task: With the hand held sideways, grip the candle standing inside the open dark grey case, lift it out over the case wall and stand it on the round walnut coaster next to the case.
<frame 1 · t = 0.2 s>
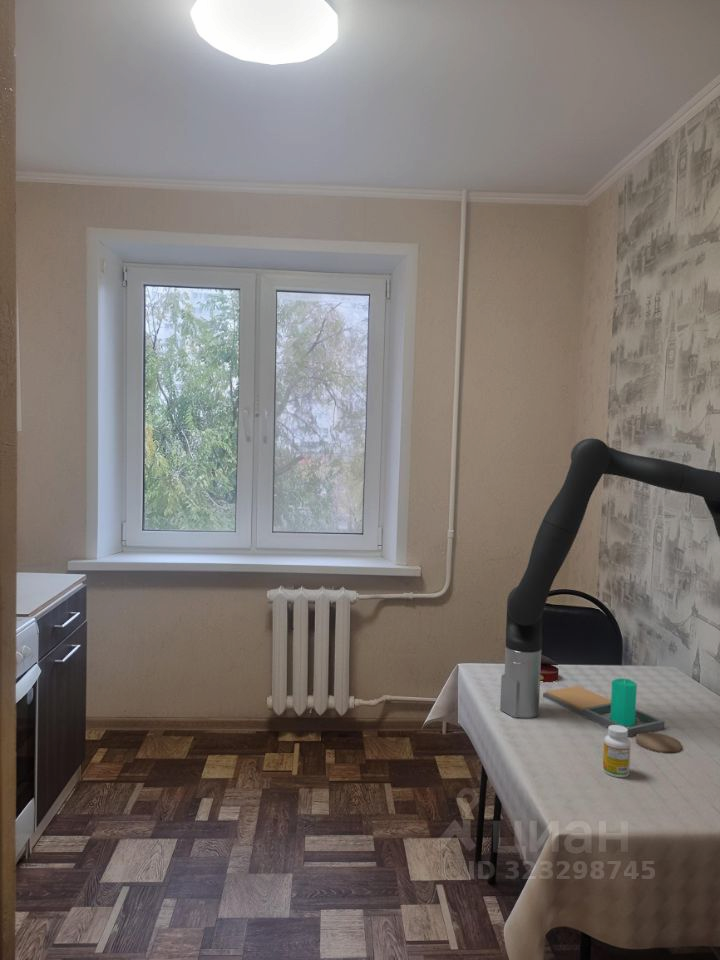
candle: (622, 722, 182), resting in case
coaster: (658, 744, 169), on the table
supplement bottle: (615, 773, 153), on the table
case: (622, 721, 182), on the table
canned food: (541, 678, 216), on the table
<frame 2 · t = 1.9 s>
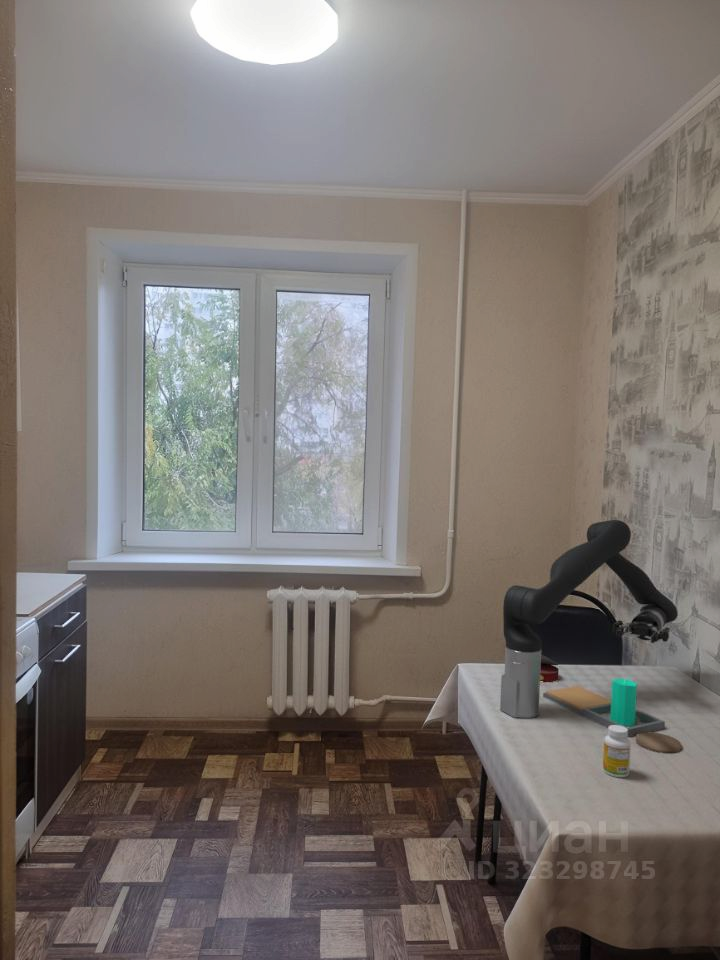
hand: (635, 636, 190), 20 cm above the table, tool horizontal, fingers open, 8 cm apart
nothing on the table moved.
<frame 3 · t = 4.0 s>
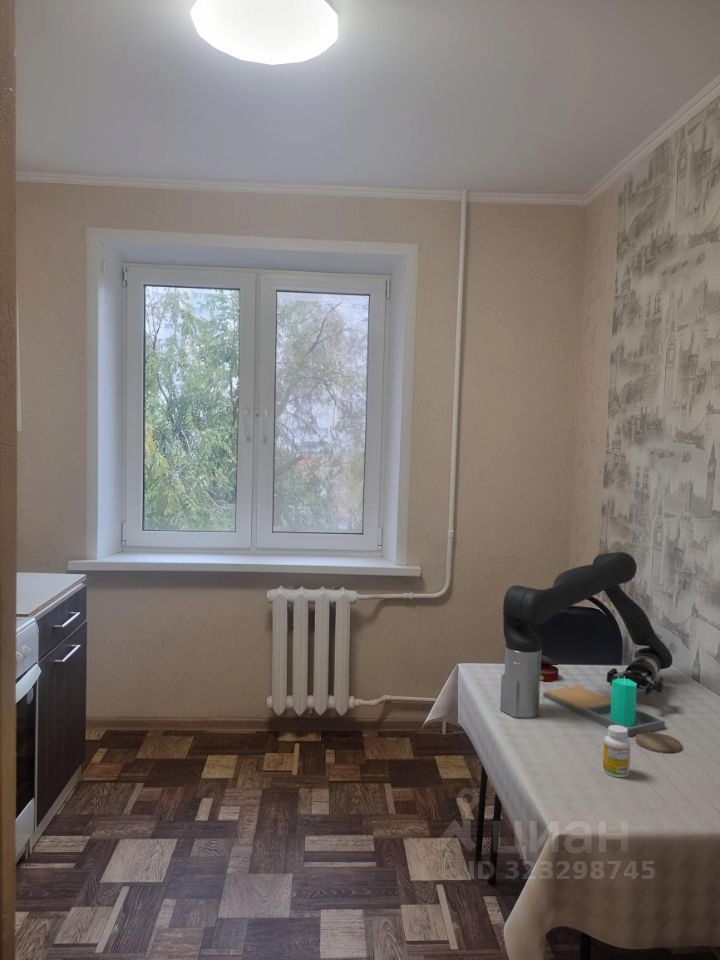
hand: (629, 687, 188), 7 cm above the table, tool horizontal, fingers open, 8 cm apart
nothing on the table moved.
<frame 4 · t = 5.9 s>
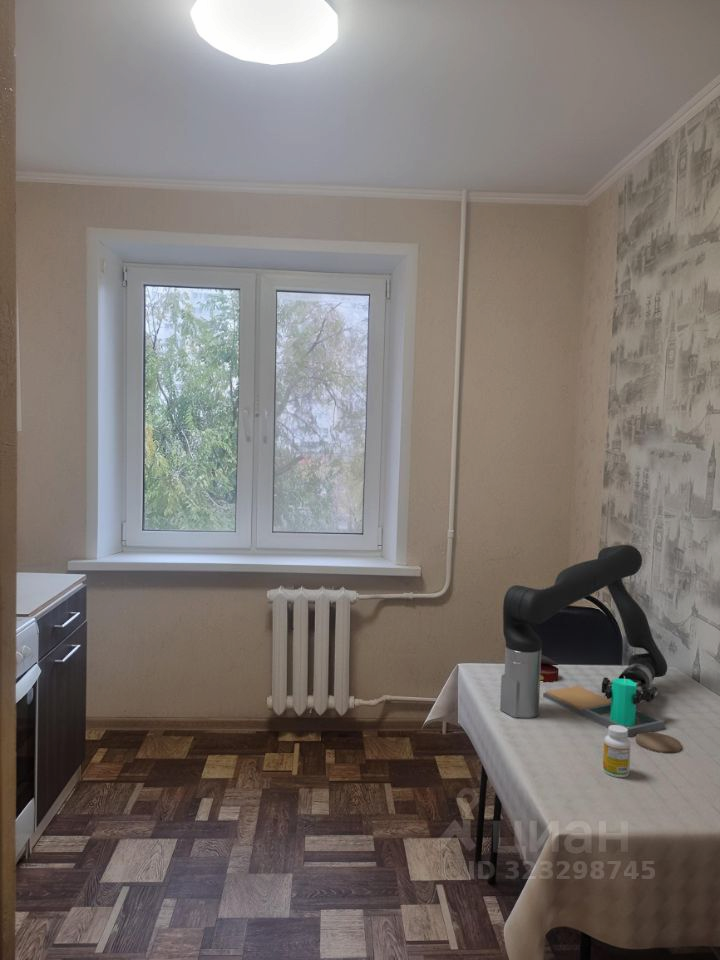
hand: (621, 697, 180), 7 cm above the table, tool horizontal, fingers open, 6 cm apart
candle: (622, 722, 182), resting in case, touching gripper
everything else where it was.
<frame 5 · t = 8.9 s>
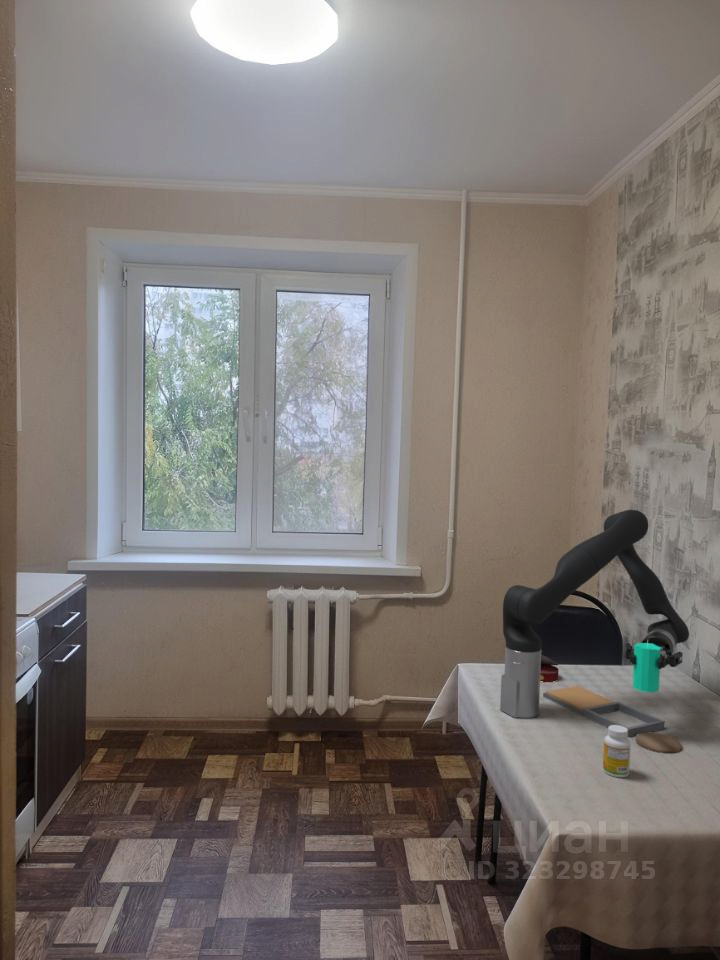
hand: (646, 662, 171), 19 cm above the table, tool horizontal, fingers closed on candle, 5 cm apart
candle: (645, 688, 174), point 11 cm above the table, touching gripper
everything else where it was.
when the fingers open (9 cm above the table, at t = 11.7 s): candle drops 1 cm, resting on coaster.
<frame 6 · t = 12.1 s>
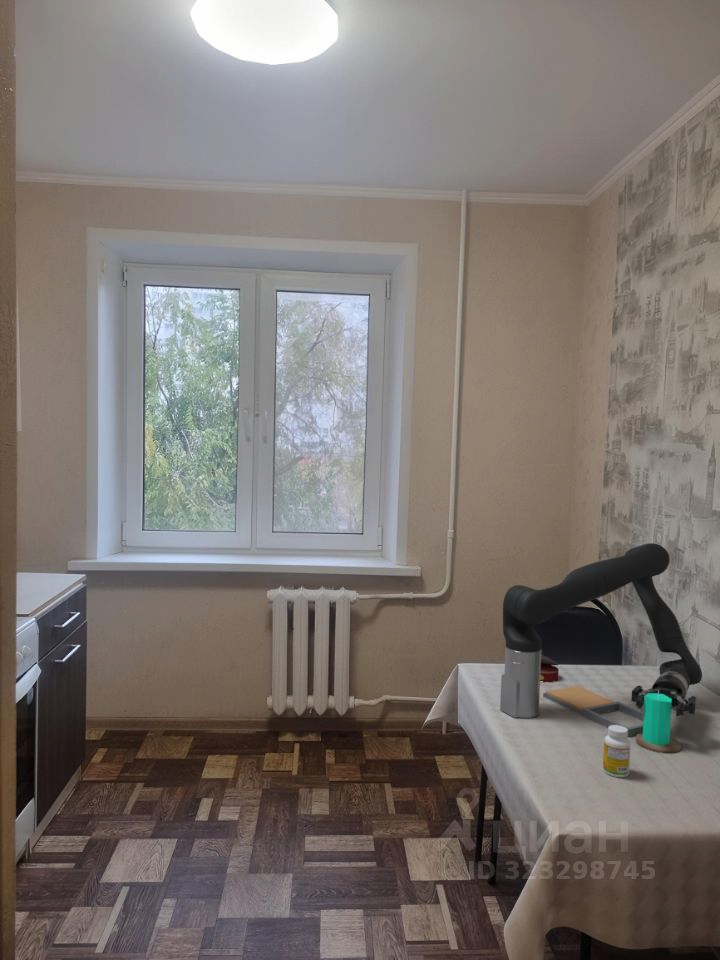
hand: (658, 708, 167), 9 cm above the table, tool horizontal, fingers open, 8 cm apart
candle: (656, 740, 169), point 1 cm above the table, touching coaster
everything else where it was.
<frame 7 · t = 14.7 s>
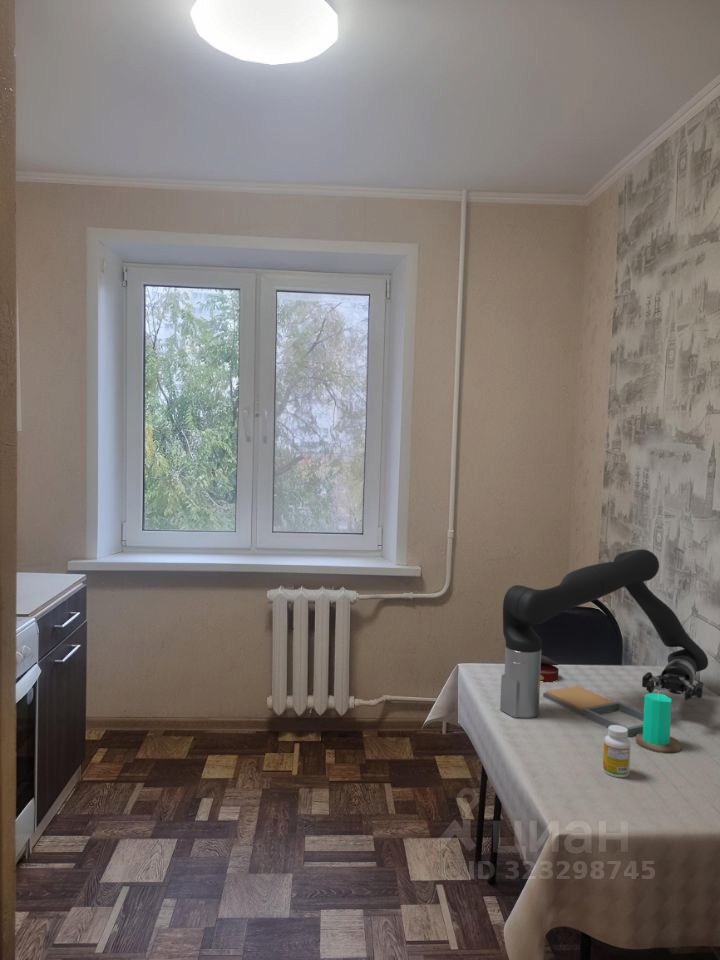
hand: (668, 692, 178), 9 cm above the table, tool horizontal, fingers open, 8 cm apart
nothing on the table moved.
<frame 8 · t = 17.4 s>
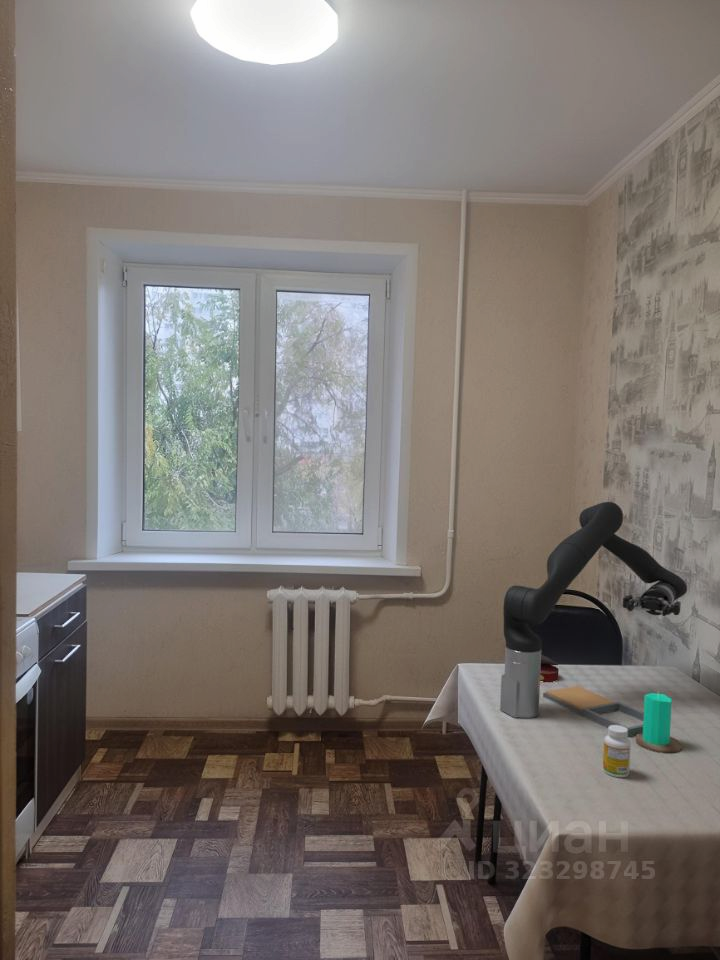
hand: (646, 609, 187), 28 cm above the table, tool horizontal, fingers open, 8 cm apart
nothing on the table moved.
at the end: candle 0.5 cm off-centre on the coaster, point 0.6 cm above the coaster's base; candle tilted 0°; the gripper is holding nothing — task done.
